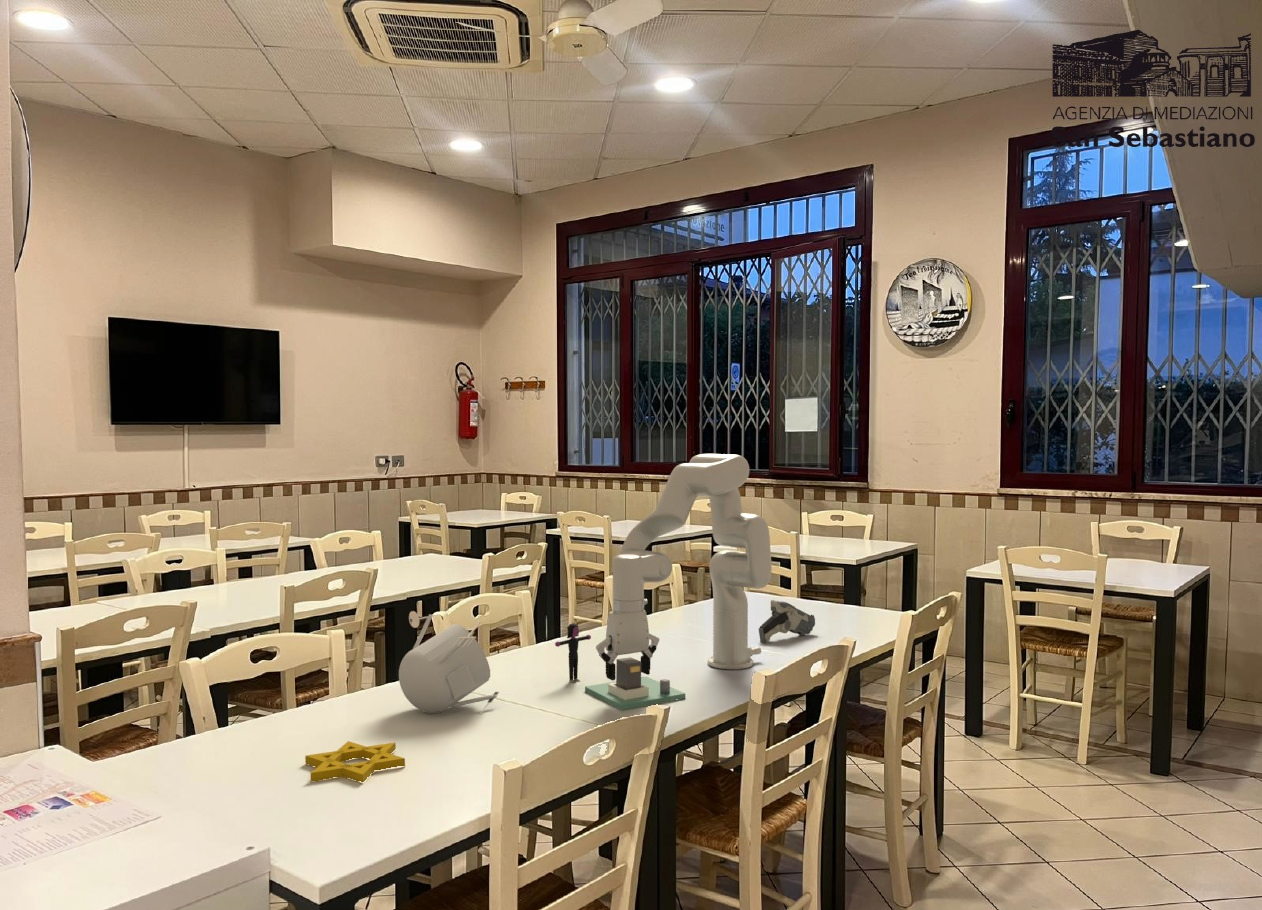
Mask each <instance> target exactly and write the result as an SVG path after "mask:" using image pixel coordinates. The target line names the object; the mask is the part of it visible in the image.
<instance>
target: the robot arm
mask: <svg viewBox="0 0 1262 910" xmlns="http://www.w3.org/2000/svg"><path fill="white" fill-rule="evenodd" d="M749 475H750V464H749V463H748V460H747V459H746V458H745V457H744V456H742V455H739V454H729V453H728V454H725V453H723V454H721V453H701V454H697V455H694V456H692V457H691V459H690V460H689V462H687V463H685V462H684V463H680V464H678V465H676V466H675V467H674V468H673V470H672V471H671V473H670V474H669V478H668V480H667V481H666V484H665V486H664V489H663V491H662V493H661V496H660V498H659V500H658V502H657V504H656V507H655V508H654V510H653V511H652V512H651V513H649V514H648V515H646V516H645V517H644V518H643V519H642V520H641V521H640V522H638V523H637V524H636V525H635V526H634V527H633V528H632V529H631V530H630V532H628V534H627V536H626V538H625V540H624V542H623V545H622V546H621V548H620V552H619V554H617V555H616V556H614V558H613V559H612V611H609V613H608V618H607V622H606V630H605V631H606V633H605V639H603V640H602V641H600V642H599V643H598V644H597V645H596V646H595V649H596V651H597V653H598V656H599V657H600V658H601V659H602V660H603V662H605V676H606V678H607V679H609V680H611V681H616V664H615V663H614V662H615V661H616V660H617V659H618V656H622V655H629V654H630V655H631V654H635V653H636V654H638V653H641V656H640V661H641V674H642V673H643V674H645V675H648V676H649V675H650V674H651V673H650V672H651V671H650V670H651V659H652V658H653V655H654V653H655V651H656V650H657V647H658V644H659V643H660V637H658V636H656V635H653V634H651V633H650V630H649V622H648V616H647V612H646V610H645V605H648V599H647V598H645V594H644V593H645V591H644V590H645V589H644V588H645V586H644V585H645V583H662V582H664V581H666V580H667V579H668V578H670V576H671V575H672V571H673V562H672V560H671V558H670V557H669V556H668V555H667V554H665V553H663V552H659V551H652V550H646V549H647V547H648V546H649V545H650V544H651V543H652V542H653V541H654V540H656V539H657V538H659V537H661V536H663V535H667V534H668V533H671V532H673V531H676V530H678V529H680V528H682V527H684V526H685V524H686V523H687V520H688V517H689V515H690V513H691V511H692V508H693V506H694V504H695V502H696V499H697V498H698V497H706V498H707V497H708V498H709V505H710V517H711V518H710V519H711V529H712V537H713V540H714V542H715V543H716V544H718V545H719V546H721V547H728V548H737V549H745V551H741V550H740V551H739V550H726V549H725V550H720V551H717V552H716V553H714V555H712V557H711V559H710V561H709V574H710V575H709V576H710V580H711V586H712V597H713V598H712V601H713V603H712V604H713V605H712V606H713V607H712V610H713V613H712V614H713V615H712V618H713V620H712V621H713V622H712V624H713V625H712V626H713V627H712V635H713V636H712V640H713V641H712V647H713V648H712V653H713V654H712V656H709V657H708V658H707V664H708V666H710V667H713V668H716V669H724V670H742V669H748V668H750V667H752V666H753V665H754V660H753V659H752V657H753V656H754V655H756V656H757V655H760V654H762V648H761V647H759V646H757V647H753V648H752V647H751V646H748V645H749V643H748V637H749V636H748V635H749V634H748V633H749V632H748V630H749V629H748V627H749V623H748V621H749V620H748V619H749V617H748V615H749V614H748V613H749V612H748V611H749V609H748V608H749V607H748V606H749V604H748V603H749V602H748V597H747V594H746V592H745V591H744V588H748V589H757V590H758V589H763V588H765V587H767V585H768V584H769V583H770V581H771V577H772V571H773V570H772V569H773V568H772V553H771V536H770V530H769V526H768V523H767V521H766V519H765V518H763V516H761V515H758V514H756V513H755V514H754V513H744V512H743V507H742V497H741V493H740V490H739V488H740V487H741V486H743V485H744V484H745V483H746V482H747V481H748V478H749ZM605 650H606V651H607V653H606V651H605Z"/></svg>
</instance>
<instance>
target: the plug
mask: <svg viewBox="0 0 1262 910" xmlns="http://www.w3.org/2000/svg"><path fill="white" fill-rule="evenodd" d="M615 670H616V679H615V681H616V686H618V687H620V688H622V689H624V690H631V689H636V688H641V677H642V672H641V660H639V659H635V658H633V657H622V658H616V664H615Z"/></svg>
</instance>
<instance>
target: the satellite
mask: <svg viewBox="0 0 1262 910" xmlns="http://www.w3.org/2000/svg"><path fill="white" fill-rule="evenodd" d="M433 617H435V615H434V614H430V613H429V614H428V616H427V615H426V616H423V617H419V615H418V613H417V612H416V611H415V610H413V611H412V610H411V611H410V612H409V615H408V621H409V624H410V626H411V627H412V628H414V629H415V628H418V627H419V625H420V620H423V619H425V622H424V624H423V626H422V629H421V631H420V633H419V635H418V637H417V639H416V642H415V644H414V645H413V647H412V649H411V650H409V651H408V652H407V653H406V654H405V655H404V656H403V658H402V660H401V662H400V665H399V667H398V668H399V669H398V680H399V681H398V682H399V684H400V689H401V691H402V693H403V696H404V697H405V698H406V700H407V701H408V702H409V703H410V704H411V705H412V706H414V708H416V709H418V710H419V711H421V712H424V713H428V714H439V713H442V712H445V711H446V710H448V709H449V708H455V707H460V706H461V707H462V706H465V705H469V704H474V703H478V702H483V701H484V702H485V701H487V700H488V701H487V704H486V705H485V706H484V707H483V709H482V710H481V712H480V713H479V715H481V714H482V713H483V712H484V711H485V709H486V708H487V707H488V706H489V704H491V703H492V702H493V701H494V700H495V698H497V696H498V694H499V691H494V693H493V694H490V695H489V694H488V695H485V696H480V697H476V698H471V699H466V700H462V699H464V698H466V697H467V696H468V695H470V694H472V693H474V691H476V690H477V689H479V688H480V687H481V686H483V685H484V684H485V683H488V682H489V680H490V678H491V669H490V664H489V661H488V659H487V656H486V654H485V652H484V650H483V648H482V647H481V646H480V644H479V642H478V641H477V640H476V639H477V636H474V634H475V630H477V628H478V627H479V625H480V624H481V621H480V620H479V621H478V622H477V624H476V625H475V626H474V627H473V628H472V630H471V631H469V630H468V629H466V628H465V627H463V626H462V625H460V624H457V623H453V624H451V625H449V626H448V627H446V628H445V629H443V630H441V631H440V632H438V633H437V634H435V635H433V636H432V637H431V638H429V639H427V640H425V642H423V643H421V641H422V639H423V638H424V635H425V634H426V631H427V629H428V627H429V625H430V622H431V620H432V618H433ZM420 643H421V644H420Z"/></svg>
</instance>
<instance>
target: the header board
mask: <svg viewBox="0 0 1262 910" xmlns="http://www.w3.org/2000/svg"><path fill="white" fill-rule="evenodd" d="M584 692H585V693H588V694H589V695H591V696H593V697H595V698H597V699H599V700H601V701H603V702H605V703H607V704H609V705H610V706H613V707H614V708H616V709H619V710H620V711H625V710H630V709H636V708H640V707H641V708H642V707H646V706H652V705H651V704H653V705H657V704H663V703H667V702H668V701H669V702H672V701H671V700H674V701H677V700H676V699H679V700H685V699H686V693H685V692H683V691H682V690H679V689H676V688H674V687H672V686H671V680H670V679H666V678H664V679H660V681H657V680H655V679H653V678H651V677H649V676H641V688H636V689H631V690H624V689H622V688H620V687H618V686H616V680H614V681H610V682H603V683H597V684H592V685H587V686H584ZM684 698H685V699H684Z"/></svg>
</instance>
